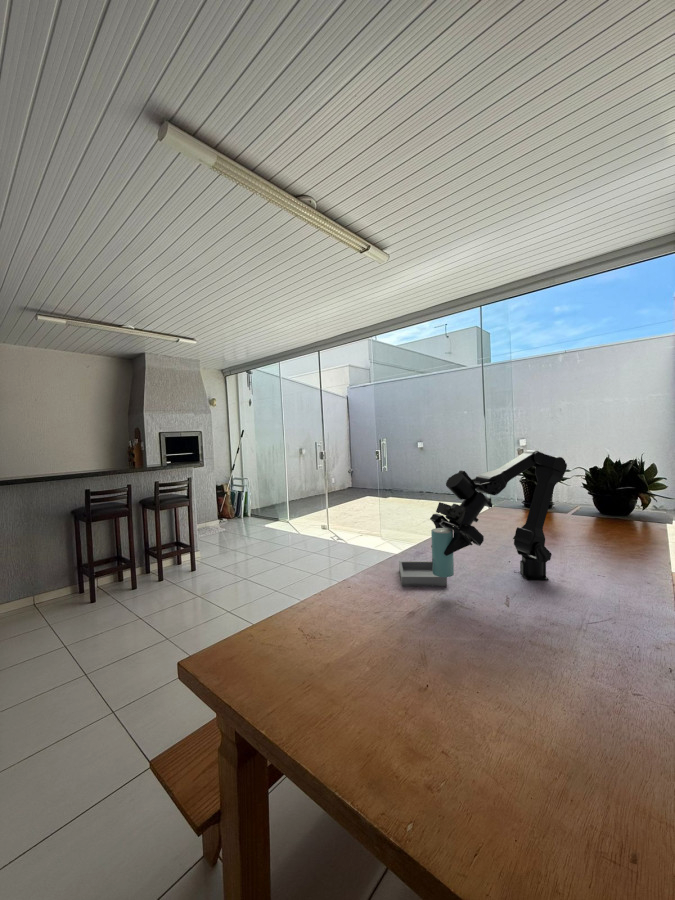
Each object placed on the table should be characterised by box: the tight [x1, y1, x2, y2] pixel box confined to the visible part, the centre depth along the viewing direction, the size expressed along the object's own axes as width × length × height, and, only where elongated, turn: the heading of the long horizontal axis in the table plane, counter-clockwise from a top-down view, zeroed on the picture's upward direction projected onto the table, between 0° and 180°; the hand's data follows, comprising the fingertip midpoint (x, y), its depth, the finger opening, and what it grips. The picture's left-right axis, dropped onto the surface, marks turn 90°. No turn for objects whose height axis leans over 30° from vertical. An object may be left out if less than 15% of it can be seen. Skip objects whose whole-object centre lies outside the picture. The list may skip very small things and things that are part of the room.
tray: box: [398, 560, 448, 587], centre depth 125 cm, size 14×14×3 cm
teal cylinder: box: [430, 527, 455, 578], centre depth 112 cm, size 6×6×13 cm
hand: (438, 551), depth 111 cm, fingers closed on teal cylinder, 6 cm apart
